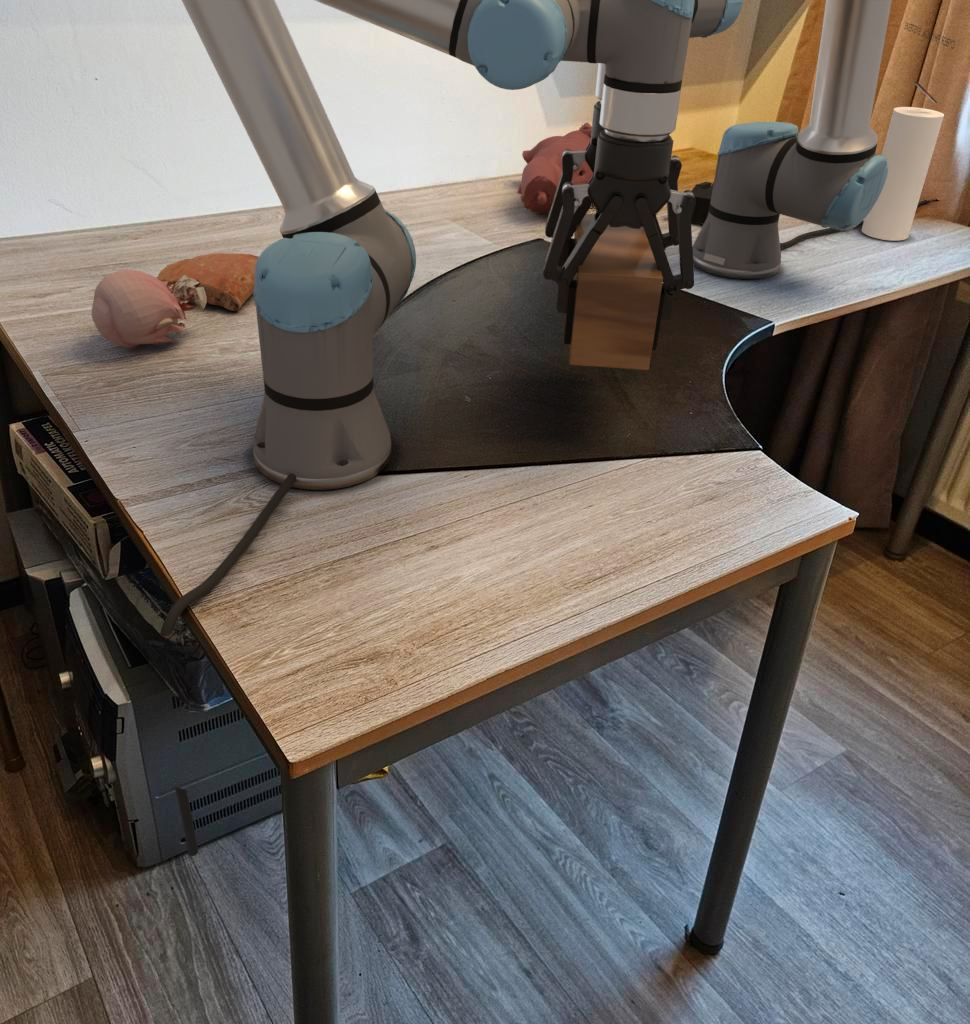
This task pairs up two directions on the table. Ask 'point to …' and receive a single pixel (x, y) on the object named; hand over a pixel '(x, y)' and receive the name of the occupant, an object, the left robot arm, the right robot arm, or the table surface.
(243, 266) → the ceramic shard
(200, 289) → the shallot
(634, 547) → the table surface
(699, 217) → the toy
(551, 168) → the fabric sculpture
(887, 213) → the white tall cylinder
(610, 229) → the box
